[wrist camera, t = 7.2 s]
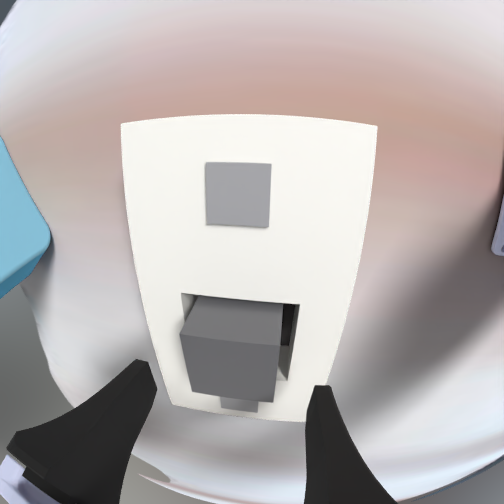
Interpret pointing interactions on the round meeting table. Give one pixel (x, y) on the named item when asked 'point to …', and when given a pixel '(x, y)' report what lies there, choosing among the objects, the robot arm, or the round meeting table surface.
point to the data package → (18, 227)
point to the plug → (233, 347)
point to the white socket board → (248, 235)
